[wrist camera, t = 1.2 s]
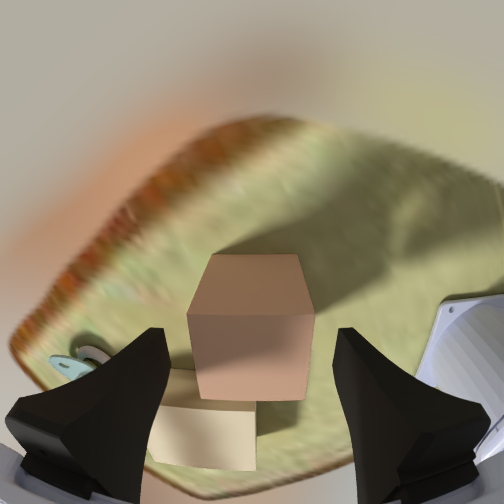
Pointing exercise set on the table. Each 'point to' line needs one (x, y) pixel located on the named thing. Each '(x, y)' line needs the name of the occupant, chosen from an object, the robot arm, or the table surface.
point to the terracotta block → (252, 328)
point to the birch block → (202, 428)
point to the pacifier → (78, 362)
